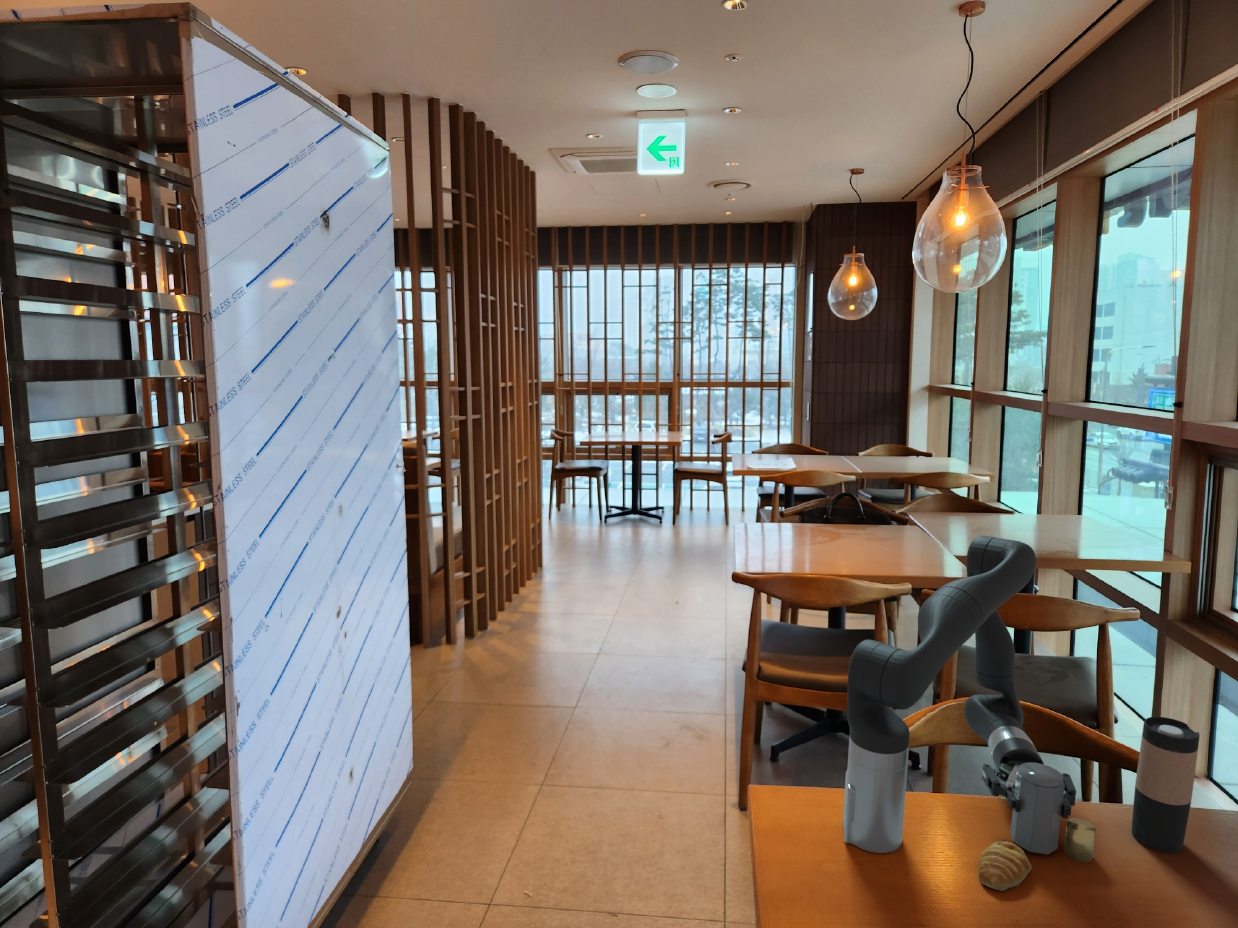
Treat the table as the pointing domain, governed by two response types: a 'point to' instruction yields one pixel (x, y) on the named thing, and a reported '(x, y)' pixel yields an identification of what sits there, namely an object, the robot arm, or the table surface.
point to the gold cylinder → (1079, 839)
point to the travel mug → (1164, 784)
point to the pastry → (1003, 866)
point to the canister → (1038, 808)
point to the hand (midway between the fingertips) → (1042, 809)
